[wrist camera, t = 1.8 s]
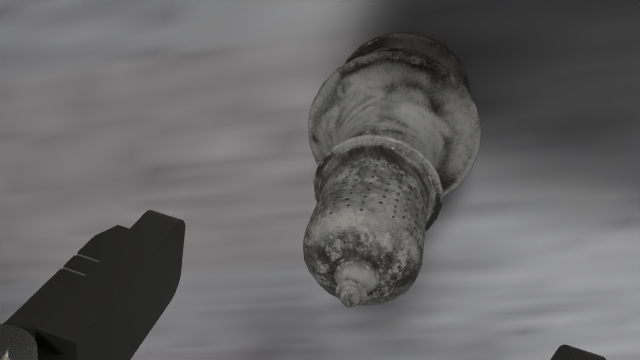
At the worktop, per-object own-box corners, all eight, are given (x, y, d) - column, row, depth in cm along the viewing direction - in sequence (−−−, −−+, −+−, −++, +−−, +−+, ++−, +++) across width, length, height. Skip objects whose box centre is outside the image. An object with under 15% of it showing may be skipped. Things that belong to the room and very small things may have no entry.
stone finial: (359, -1, 20) (254, 134, 10) (507, 61, 20) (556, 261, 10) (309, 132, 23) (191, 338, 13) (437, 185, 23) (419, 436, 13)
